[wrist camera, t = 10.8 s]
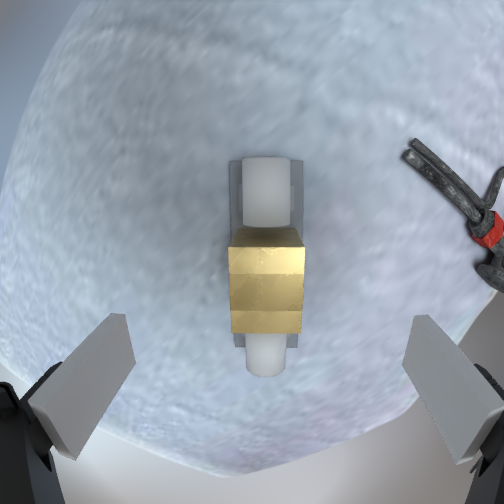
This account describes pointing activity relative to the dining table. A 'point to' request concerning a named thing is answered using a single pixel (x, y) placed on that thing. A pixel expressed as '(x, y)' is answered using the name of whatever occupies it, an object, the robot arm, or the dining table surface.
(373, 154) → the dining table surface
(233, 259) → the cardboard box
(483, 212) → the valve
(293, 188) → the shaft bed
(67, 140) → the dining table surface
